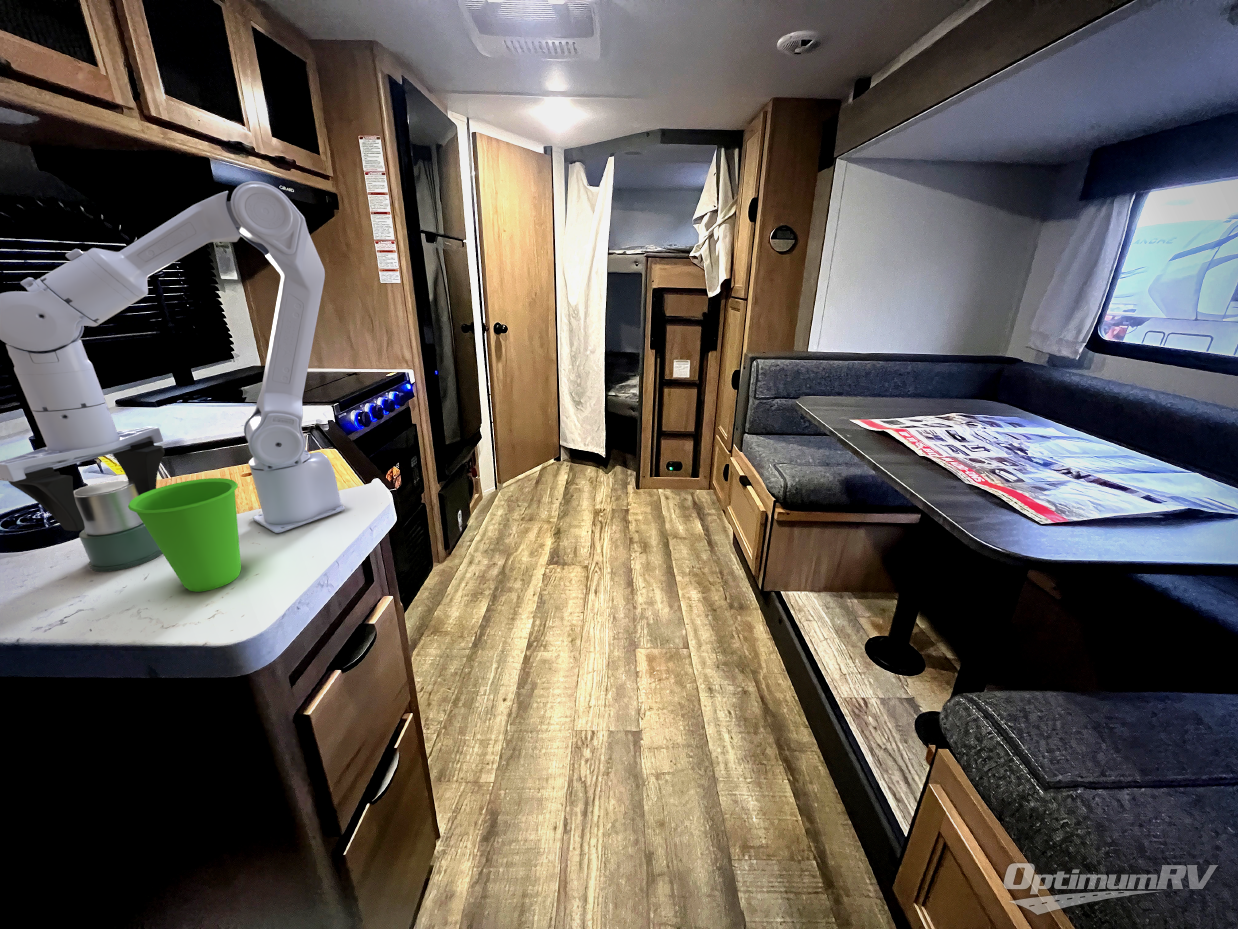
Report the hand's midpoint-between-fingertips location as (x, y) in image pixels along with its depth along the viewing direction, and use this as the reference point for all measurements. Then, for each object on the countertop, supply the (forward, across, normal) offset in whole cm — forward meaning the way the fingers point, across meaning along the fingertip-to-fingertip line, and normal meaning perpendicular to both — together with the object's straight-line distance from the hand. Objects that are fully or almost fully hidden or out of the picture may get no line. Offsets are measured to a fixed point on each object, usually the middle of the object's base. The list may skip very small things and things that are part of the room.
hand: (113, 514), depth 58 cm
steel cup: (+1, 0, 0) cm, 1 cm away
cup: (+6, +2, +15) cm, 17 cm away
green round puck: (+6, 0, 0) cm, 6 cm away
